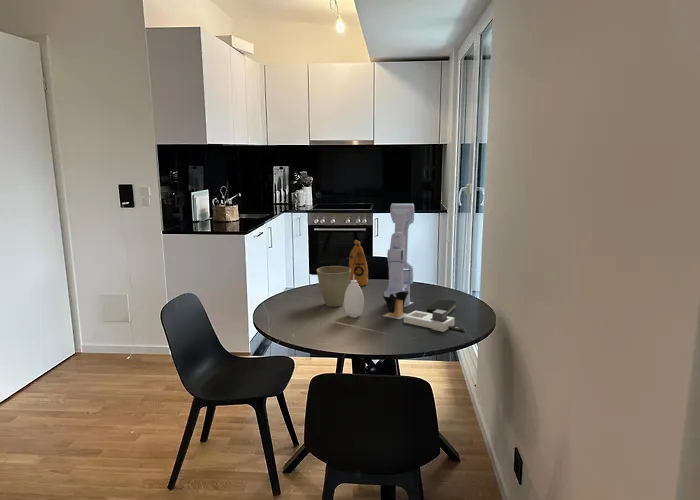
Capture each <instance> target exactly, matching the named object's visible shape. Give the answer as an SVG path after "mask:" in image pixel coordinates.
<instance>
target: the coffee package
mask: <svg viewBox="0 0 700 500" xmlns="http://www.w3.org/2000/svg"><path fill="white" fill-rule="evenodd" d="M353 243H354V244H355V245H354V246H353V247H352V249H351V251H350V253H349V257H348V258H349V259H348V268H350V269H351V274H350V280H349V282H350V281H351V280H353V274H354V280H356V281H357V283H358V284H359V285H360V287H364V285H367V286H368V281H369V269H368V268H369V267H368V264H367V263H368V262H367V260H366V256H365V253H364V249H363V247H362V246H361V241H359V240H357V239H355V240H354V241H353Z"/></svg>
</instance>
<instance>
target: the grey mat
mask: <svg viewBox="0 0 700 500" xmlns="http://www.w3.org/2000/svg"><path fill="white" fill-rule="evenodd" d="M407 314H408V313H405V312H403V315H401V316H399V317H395V316H390V315H389V312H388V313H385V314H383V315H382V317H386V318H392V319H397V320H401V319H404V316H405V315H407Z"/></svg>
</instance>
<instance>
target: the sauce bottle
mask: <svg viewBox="0 0 700 500" xmlns="http://www.w3.org/2000/svg"><path fill="white" fill-rule="evenodd" d="M363 293H364V292H363V290H362V288H361V286H359V284H358V283H357V281H356V280H354V274H353V280H351V281H350V280H349V285H348V287H347V290H346V292H345V297H344V302H343V306H344V309H345V312H346V314H347V316H349V317H350V318H359V316H360V315H362V313H363V311H364V307H365V298H364V294H363Z"/></svg>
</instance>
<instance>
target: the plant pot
mask: <svg viewBox="0 0 700 500" xmlns="http://www.w3.org/2000/svg"><path fill="white" fill-rule="evenodd" d="M316 274H317V280H318V284H319V289H320V292H321V295H322V298H323V300H324V303H325V305H326V306H327V305H328V306H327V307H329V306H333V307H332V308H336V307H337V306H339V307H341V305H342V306H344V297H345V292H346V290H347V287H348V285H349V284H350V274H351V269H350V268H349V266H348V267H347V266H343V265H342V266H341V265H329V266H321V267H318V268H317V269H316ZM337 308H338V307H337Z"/></svg>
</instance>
